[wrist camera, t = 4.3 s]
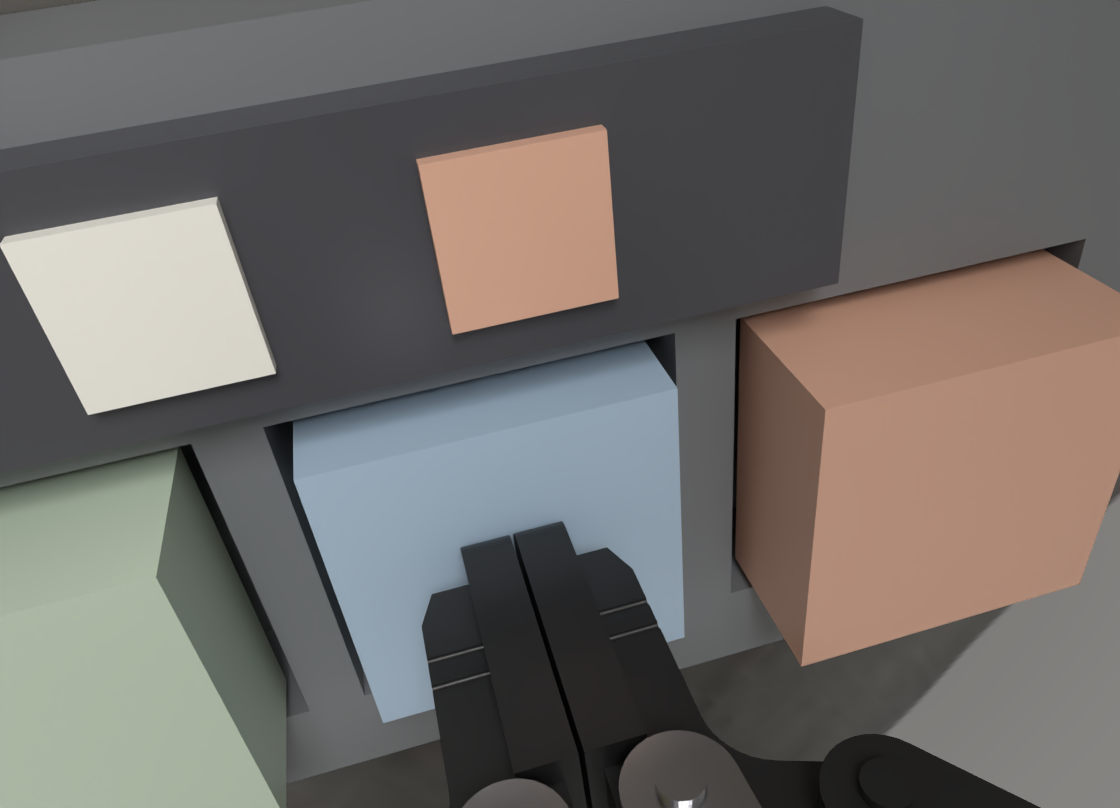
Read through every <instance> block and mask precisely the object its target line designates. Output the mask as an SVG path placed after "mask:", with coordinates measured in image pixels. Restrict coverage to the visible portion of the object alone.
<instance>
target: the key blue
mask: <svg viewBox="0 0 1120 808" xmlns="http://www.w3.org/2000/svg"><path fill="white" fill-rule="evenodd" d="M293 475H294V483H295V486H296V488H297V491H298V494H299V497H300V499H301V502H302V505H303V507H304V510H305V513H306V516H307V518H308V521H309V524H310V526H311V529H312V532H313V534H314V537H315V540H316V543H317V545H318V548H319V551H320V553H321V556H322V559H323V561H324V564H325V567H326V570H327V572H328V575H329V578H330V580H331V583H332V586H333V589H334V591H335V594H336V597H337V599H338V602H339V605H340V607H341V610H342V613H343V616H344V618H345V621H346V624H347V626H348V629H349V632H350V634H351V637H352V640H353V643H354V645H355V648H356V651H357V653H358V656H359V659H360V662H361V664H362V667H363V670H364V672H365V675H366V678H367V680H368V683H369V686H370V689H371V691H372V694H373V697H374V699H375V702H376V705H377V708H378V710H379V713H380V716H381V718H382V721H383V723H386V722H389V721H393V720H396V719H400V718H403V717H407V716H410V715H414V714H417V713H421V712H424V711H428V710H431V709H435V704H434V698H433V690H432V686H431V680H430V674H429V668H428V661H427V656H426V650H425V645H424V639H423V633H422V623H423V620H424V617H425V614H426V611H427V608H428V604H429V601H430V598H431V595H432V594H434V593H438V592H442V591H446V590H449V589H453V588H457V587H461V586H464V585H468V584H469V583H468V579H467V575H466V570H465V566H464V562H463V558H462V554H461V549H460V548H461V547H465V546H468V545H472V544H476V543H480V542H484V541H488V540H492V539H495V538H499V537H503V536H507V535H510V537H511V540H512V543H513V546H514V550H515V545H514V539H513V534H514V533H518V532H521V531H525V530H529V529H533V528H537V527H541V526H545V525H548V524H552V523H556V522H560V521H562V522H563V523H564V525H565V527H566V529H567V532H568V534H569V537H570V539H571V542H572V544H573V547H574V550H575V552H576V555H580V554H584V553H587V552H591V551H595V550H599V549H602V548H606V547H607V548H609V549H610V550H611V551H612V552H613V553H614V554H616V555H617V556H618V557H619V558H620V559H622V560H623V561H624V562H625V563H626V564H628V565H629V566H630V567H631V568H632V569H633V570H634V573H635V575H636V577H637V579H638V581H639V583H640V586H641V588H642V590H643V592H644V594H645V596H646V599H647V603H648V604H649V605H650V607H651V609H652V611H653V614H654V616H655V618H656V620H657V623H658V627H659V628H660V629H661V631H662V633H663V635H664V637H665V639H666V642H670V641H673V640H677V639H680V638H684V637H685V635H684V599H683V564H682V529H681V493H680V458H679V423H678V389H677V387H676V386H675V384H674V383H673V381H672V380H671V378H670V377H669V375H668V374H667V372H666V371H665V370H664V368H663V367H662V365H661V364H660V362H659V361H658V359H657V358H656V356H655V355H654V354H653V352H652V351H651V349H650V348H649V346H648V345H647V343H646V342H645V340H642V341H638V342H633V343H629V344H625V345H620V346H616V347H611V348H607V349H603V350H598V351H594V352H590V353H585V354H581V355H577V356H572V357H568V358H563V359H559V360H555V361H550V362H546V363H542V364H537V365H533V366H528V367H524V368H520V369H515V370H511V371H507V372H502V373H498V374H494V375H489V376H485V377H480V378H476V379H472V380H467V381H463V382H459V383H454V384H450V385H446V386H441V387H437V388H432V389H428V390H424V391H419V392H415V393H411V394H406V395H402V396H398V397H393V398H389V399H384V400H380V401H376V402H371V403H367V404H363V405H358V406H354V407H350V408H345V409H341V410H336V411H332V412H328V413H323V414H319V415H315V416H310V417H306V418H302V419H297V420H293ZM515 553H516V550H515Z"/></svg>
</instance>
